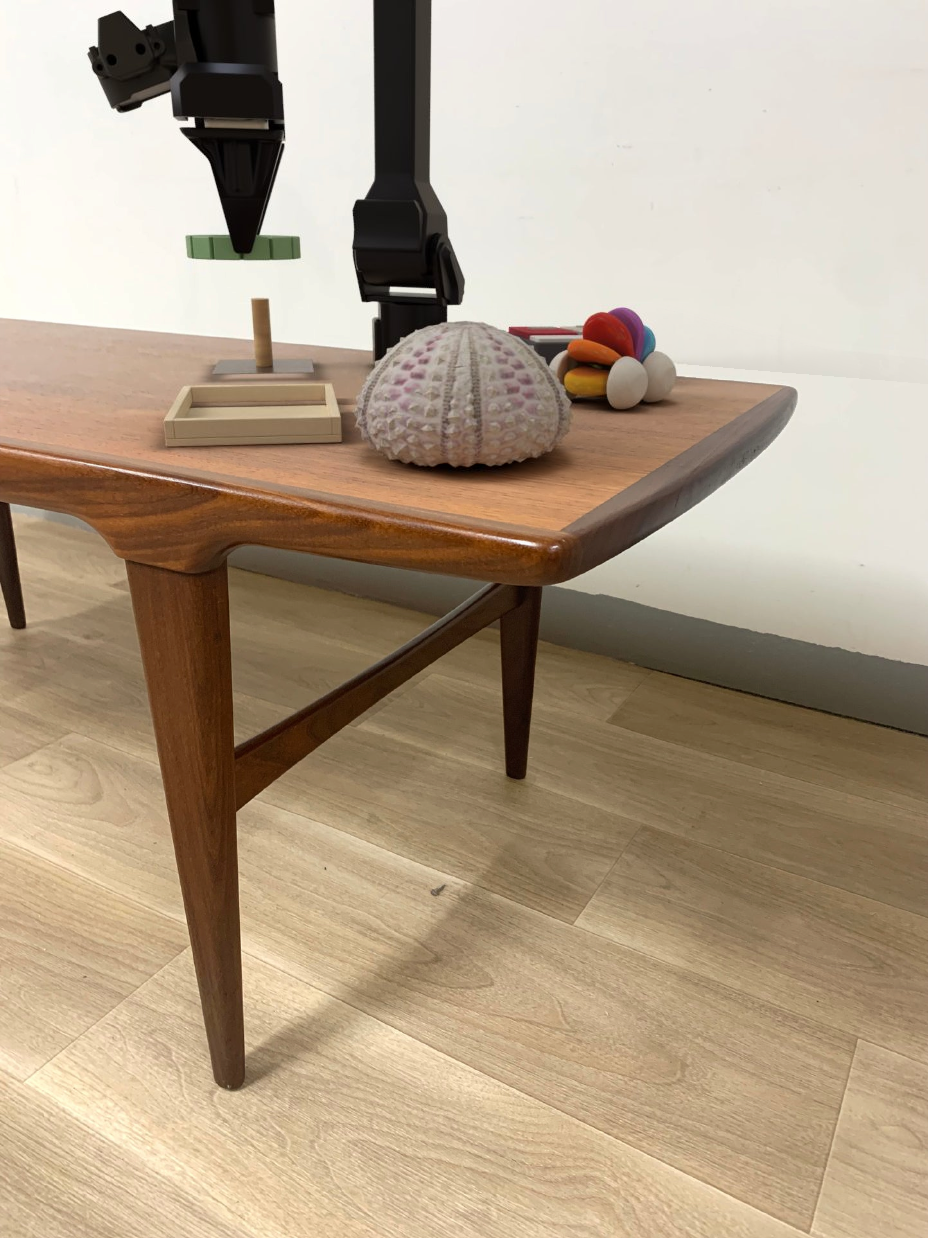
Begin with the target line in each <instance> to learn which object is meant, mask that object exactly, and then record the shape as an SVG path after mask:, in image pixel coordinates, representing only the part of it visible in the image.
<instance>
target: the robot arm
mask: <svg viewBox="0 0 928 1238" xmlns="http://www.w3.org/2000/svg"><path fill="white" fill-rule="evenodd" d="M432 1H433V0H372V20H373V21H372V23H373V24H372V25H373V26H372V27H373V28H372V29H373V31H372V32H373V33H372V34H373V39H372V40H373V41H372V42H373V132H374V133H373V136H374V137H373V140H374V141H373V143H374V144H373V145H374V147H373V148H374V150H373V151H374V152H373V153H374V156H373V157H374V175H373V176H374V177H373V178H374V179H373V181H372V183H371V185H370V187H369V190H368V191H367V193H366V195H365V196H364V198H362V199H361V198H358V199H356V200H355V201H354V204H353V207H352V220H353V222H352V223H353V239H352V246H351V249H352V261H353V266H354V271H355V276H356V280H357V285H358V292H359V296H360V300H361V302H362V303H377V316H374V317H373V318H372V319H371V332H372V334H371V335H372V336H371V337H372V338H371V339H372V362H373V363H374V364H375V361H378V360H381V359H382V358H383V357H384V356H385V355H386V354H387V349H388V348H392V347H394V346H395V345H396V344H398V343H399V342H400V338H401V337H403V338H405V337H407V336H408V335H410V334H411V333H413V332H415V330H420V329H423V328H426V327H428V326H434V325H439V324H441V323H445V322H448V306H461V305H462V303H463V299H464V295H465V285H466V279H465V276H464V273H463V271H462V269H461V266H460V263H459V261H458V257H457V255H456V252H455V249H454V247H453V244H452V242H451V239H450V237H449V228H448V227H449V226H448V225H449V224H448V223H449V222H448V215H447V213H446V211H445V208H444V207H443V205H442V203H441V201H440V199H439V198H438V196H437V193H436V192H435V189H434V188H433V186H432V184H431V103H432V102H431V101H432V100H431V96H432V94H431V93H432V92H431V91H432V89H431V87H432ZM171 4H172V5H171V6H172V14H173V19H171V20H168V21H166V22H163V23H160V24H156V25H153V24H152V23H150V24H147V25H145V28H143V29H140V27H138V26H137V25H136V24H135V23H134V22H133V21H132V20H131V19H130V18H129V17H128V16H127V15H126V14H125V13H124V12H123V11H122V10H116V11H114V12H111V13H108V14H105V15H103V16H101V17H98V18H97V46H96V45H91V46H89V47H88V50H89V51H88V52H87V54H86V55H87V57H88V60H89V62H90V64H91V70H92V72H93V74H95V75H96V77H97V80H98V81H99V84H100V86H101V88H102V91H103V93H104V95H105V97H106V99H107V102H108V104H109V106H110V108H111V109H113V110H116V112H117V113H119V114H125V113H128V112H131V111H134V110H135V111H136V110H137V109H140V108H142V106H143V104H144V103H146V102H148V101H151V100H153V99H156V98H158V97H161V96H164V95H167V94H169V93H170V98H171V99H170V100H171V107H172V109H171V110H172V118H174V119H175V120H176V121H177V122H188V121H189V118H193V119H194V126H181V127H179V128H178V129H179V131H180V133H181V134H182V135H183V136H184V137H185V138H186V139H187V140H188V141H189V142H190V143H191V144H192V146H194V147H195V148H196V149H197V150H198V151H199V152H200V153H201V154H202V155H203V156H204V157H205V158H206V159H207V160H208V163H209V165H210V169H211V172H212V177H213V179H214V183H215V186H216V190H217V194H218V197H219V201H220V205H221V208H222V212H223V213H222V214H223V216H224V220H225V224H226V228H227V232H228V235H230V239H231V242H232V246H233V250H234V252H235V253H237V254H250V253H251V252H252V250H253V246H254V243H255V239H256V235H261V231H262V227H263V224H264V221H265V217H266V214H267V211H268V207H269V204H270V200H271V197H272V193H273V190H274V187H275V183H276V179H277V176H278V172H279V169H280V166H281V162H282V160H283V155H284V152H285V149H286V147H285V144H286V143H284V142H286V140H287V139H286V123H285V122H286V121H285V106H284V105H285V104H284V89H283V87H284V86H283V83H282V82H281V80H280V79H279V61H278V45H277V43H278V42H277V24H276V23H277V22H276V7H275V6H276V5H275V0H171ZM391 288H408V289H433V290H435V293H429V292H427V293H426V292H405V291H404V292H403V291H390V290H391Z"/></svg>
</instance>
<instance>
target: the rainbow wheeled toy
mask: <svg viewBox="0 0 928 1238" xmlns="http://www.w3.org/2000/svg"><path fill="white" fill-rule="evenodd" d="M583 325H584V326H583V330H582V334H583V339H577V340H573V341H572V342H570V343H569V345H568V348H567V350H565V351H563V352H561V353H559V354H558V355H557V356H556V357H555V358H554V359H553V360H552V362H551V363H550V366H549V367H550V369H552V370H554V371H556V377H557V378H558V379H559V381H560V384H562V385H563V386H565V388H564V389H566V396H568V397H567V398H568V399H569V400H570V401H571V400H573V399H575V398H576V397H578V396H584V397H585V396H586V397H587V396H588V397H596V396H604V395H606V397H607V401H608V402H609V404H610V406H611V407H612V408H613V409H616V410H627V409H631V408H633V407H634V406H636V405H637V404H638V403H640V402H641V400H643V402H646V403H655V402H659V401H661V400H664V399H665V398H667V396H669V395H670V393H671V392H672V391H673V389H674V388H675V385H676V382H677V377H678V376H677V375H678V374H677V369H676V366H675V363H674V362H673V360H672V358H670V357H669V356H668V355H667V354H665V353H664V352H662V351H658V350H656V345H657V342H656V341H657V340H656V335H655V334H654V331H653V330H652V328H650V327H649V326H647V325H645V324H644V322H643V320H642V318H641V317H640V316H639V315H638V314H637V313H636V311H634V310H632V309H631V308H628V307H624V306H623V307H621V306H620V307H617V308H614V309H611V310H609V311H608V312H605V311H599V312H596V313H594V314H592V315H590V316H589V317H588V318H587V319H586V320H585V322H584V323H583Z"/></svg>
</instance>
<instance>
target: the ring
mask: <svg viewBox="0 0 928 1238" xmlns="http://www.w3.org/2000/svg"><path fill="white" fill-rule="evenodd" d="M184 236H185V246H186V257H187V258H188V259H192V260H193V259H194V260H207V261H208V260H209V261H288V260H289V261H291V260H299V259H301V258H302V253H301V237H300V236H299V235H281V234H280V235H277V234H260V235H256V239H255V243H254V246H253V250H252V252H251V253H250V254H237V253H235V252H234V250H233V246H232V242H231V239H230V235H229V234H188V235H184Z"/></svg>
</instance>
